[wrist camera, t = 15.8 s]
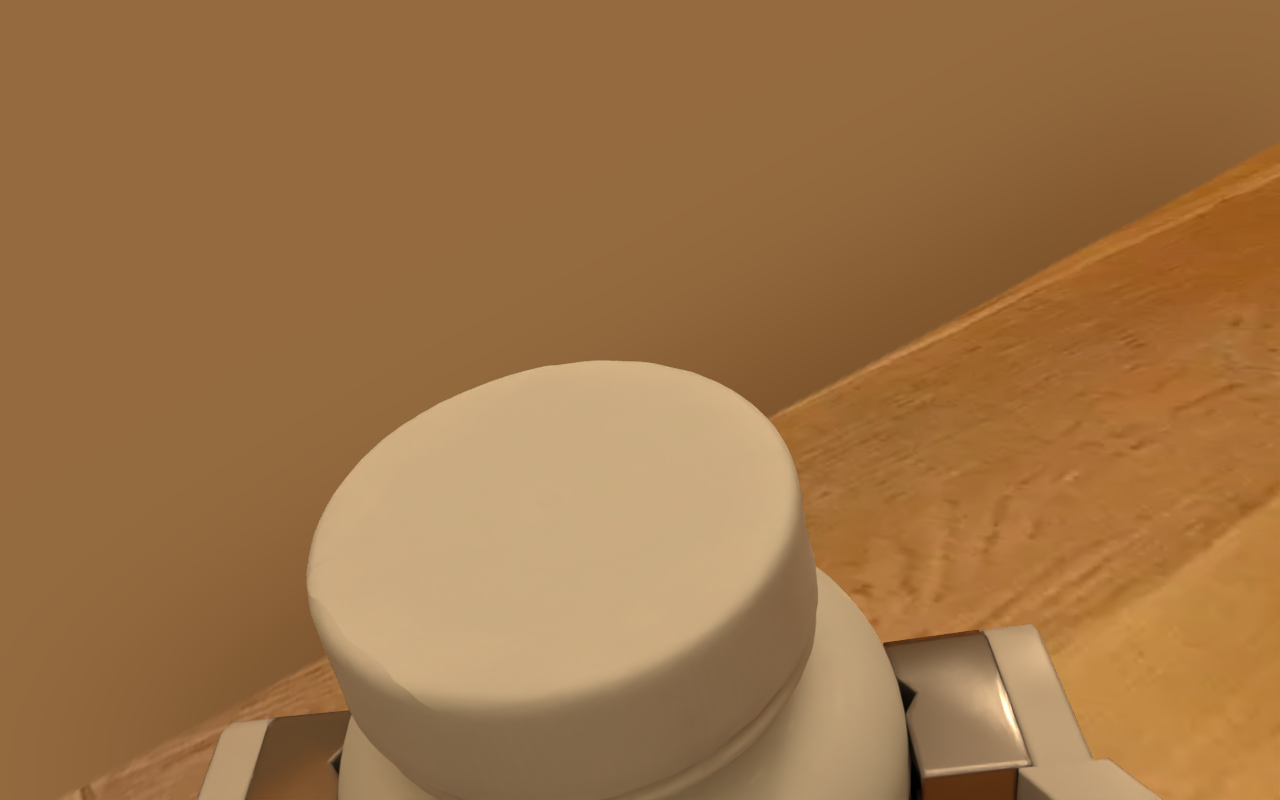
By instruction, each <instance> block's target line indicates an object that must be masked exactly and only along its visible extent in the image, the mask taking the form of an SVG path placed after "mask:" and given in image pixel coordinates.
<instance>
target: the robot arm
mask: <svg viewBox="0 0 1280 800" xmlns="http://www.w3.org/2000/svg"><path fill="white" fill-rule="evenodd" d="M883 647H884V649H885V651H886V654H887V656H888V659H889V661H890V663H891V666H892V668H893V671H894V674H895V677H896V679H897V682H898V686H899V690H900V694H901V698H902V702H903V707H904V712H905V720H906V727H907V734H908V741H909V747H910V754H911V764H912V766H911V796H912V800H1163V799H1162V798H1160V797H1159V796H1158V795H1156V794H1155V793H1154V792H1152V791H1151V790H1150V789H1148V788H1147V787H1146V786H1145V785H1143V784H1142V783H1141V782H1139V781H1138V780H1137V779H1135V778H1134V777H1133V776H1131V775H1130V774H1129V773H1127V772H1126V771H1125V770H1124V769H1122V768H1121V767H1120V766H1118V765H1117V764H1116V763H1114V762H1113V761H1112V760H1110V759H1096V760H1093V757H1092V755H1091V753H1090V750H1089V748H1088V746H1087V743H1086V741H1085V738H1084V736H1083V734H1082V731H1081V729H1080V727H1079V724H1078V722H1077V720H1076V717H1075V715H1074V712H1073V710H1072V708H1071V705H1070V703H1069V701H1068V698H1067V696H1066V694H1065V691H1064V689H1063V686H1062V684H1061V682H1060V679H1059V677H1058V675H1057V672H1056V670H1055V668H1054V665H1053V663H1052V661H1051V658H1050V656H1049V653H1048V651H1047V649H1046V646H1045V644H1044V642H1043V639H1042V637H1041V635H1040V632H1039V631H1038V630H1037V629H1036V628H1035V627H1034V626H1033V625H1032V624H1028V625H1020V626H1012V627H1004V628H996V629H988V630H982V631H981V632H980V631H979V630H973V631H966V632H958V633H951V634H944V635H937V636H929V637H922V638H915V639H907V640H900V641H893V642H886V643H883ZM351 715H352V714H351V712H350V710H349V711H339V712H328V713H318V714H308V715H298V716H287V717H277V718H270V719H261V720H252V721H243V722H234V723H230V724H229V726H228V727H227V728H226V729H225V730H224V732H223V733H222V734H221V735H220V737H219V739H218V742H217V745H216V747H215V750H214V753H213V756H212V759H211V761H210V764H209V767H208V770H207V773H206V775H205V778H204V781H203V784H202V787H201V789H200V792H199V795H198V798H197V800H338V788H339V772H340V764H341V757H342V751H343V745H344V741H345V737H346V733H347V729H348V725H349V721H350V718H351Z"/></svg>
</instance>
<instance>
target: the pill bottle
mask: <svg viewBox="0 0 1280 800" xmlns="http://www.w3.org/2000/svg"><path fill="white" fill-rule="evenodd" d="M306 580H307V591H308V599H309V607H310V612H311V617H312V620H313V622H314V625H315V627H316V630H317V632H318V635H319V637H320V640H321V642H322V645H323V647H324V649H325V652H326V654H327V656H328V659H329V661H330V663H331V666H332V668H333V670H334V673H335V675H336V677H337V679H338V682H339V684H340V686H341V689H342V691H343V693H344V696H345V699H346V702H347V705H348V708H349V710H350V712H351V714H352V715H351V718H350V721H349V725H348V729H347V733H346V737H345V741H344V745H343V751H342V757H341V764H340V772H339V788H338V800H912V796H911V766H912V764H911V754H910V747H909V741H908V734H907V727H906V720H905V712H904V707H903V702H902V698H901V694H900V690H899V686H898V682H897V679H896V677H895V674H894V671H893V668H892V666H891V663H890V661H889V659H888V656H887V654H886V651H885V649H884V647H883V645H882V643H881V641H880V640H879V638H878V636H877V634H876V632H875V630H874V629H873V627H872V626H871V624H870V623H869V621H868V620H867V619H866V617H865V616H864V614H863V613H862V611H861V610H860V609H859V608H858V606H857V605H856V604H855V602H854V601H853V600H852V599H851V598H850V597H849V596H848V595H847V594H846V593H845V592H844V591H843V590H842V589H841V588H840V587H839V586H838V585H837V584H836V583H835V582H834V580H833V579H831V578H830V577H829V576H828V575H826V574H825V573H824V572H822V571H821V570H820V569H819V568H817V567H816V564H815V559H814V553H813V550H812V548H811V545H810V543H809V538H808V532H807V527H806V522H805V516H804V508H803V501H802V494H801V488H800V483H799V479H798V474H797V471H796V468H795V465H794V462H793V459H792V457H791V454H790V452H789V450H788V448H787V446H786V444H785V442H784V440H783V439H782V437H781V436H780V434H779V433H778V431H777V429H776V428H775V426H774V425H773V424H772V423H771V422H770V421H769V420H768V419H767V418H766V417H765V416H764V415H763V414H762V413H761V412H760V411H759V410H758V409H757V408H756V407H754V406H753V405H752V404H751V403H750V402H748V401H747V400H746V399H744V398H743V397H741V396H740V395H739V394H737V393H736V392H734V391H733V390H731V389H729V388H727V387H725V386H723V385H721V384H719V383H718V382H715V381H712V380H710V379H708V378H705V377H703V376H701V375H698V374H696V373H693V372H689V371H684V370H680V369H676V368H671V367H667V366H663V365H659V364H653V363H646V362H631V361H586V362H577V363H571V364H563V365H553V366H544V367H540V368H536V369H532V370H528V371H524V372H520V373H516V374H512V375H509V376H506V377H503V378H500V379H497V380H494V381H492V382H489V383H486V384H483V385H481V386H478V387H476V388H474V389H471V390H468V391H466V392H463V393H461V394H459V395H456V396H454V397H453V398H451V399H448V400H446V401H443V402H441V403H439V404H437V405H436V406H434V407H432V408H430V409H429V410H427V411H425V412H423V413H421V414H419V415H418V416H417V417H415V418H414V419H412V420H410V421H409V422H406V423H405V424H403V425H402V426H401V427H399V428H398V429H397V430H395V431H394V432H393V433H391V434H390V435H388V436H387V437H386V438H384V439H383V440H382V441H381V442H380V443H379V444H377V445H376V446H375V447H374V448H373V449H372V450H371V451H370V452H369V453H368V454H367V455H366V456H365V457H363V459H361V461H360V462H359V463H358V464H357V465H356V466H355V468H354V469H353V470H352V471H351V472H350V474H349V475H348V476H347V477H346V479H345V480H344V481H343V482H342V484H341V485H340V486H339V488H338V489H337V491H336V492H335V493H334V495H333V496H332V498H331V500H330V501H329V503H328V505H327V507H326V509H325V510H324V513H323V515H322V516H321V519H320V521H319V524H318V526H317V528H316V531H315V533H314V537H313V540H312V543H311V547H310V554H309V561H308V567H307V573H306Z"/></svg>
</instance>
